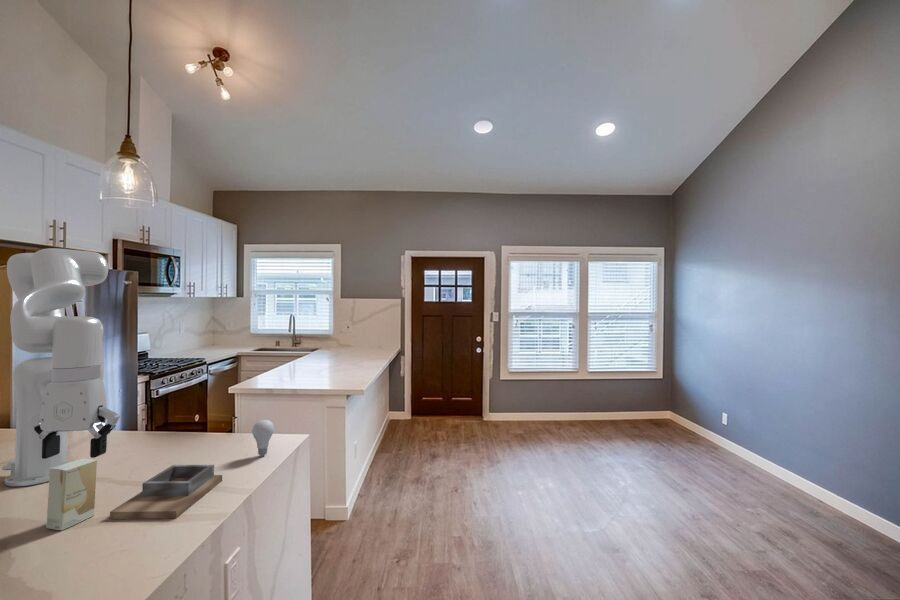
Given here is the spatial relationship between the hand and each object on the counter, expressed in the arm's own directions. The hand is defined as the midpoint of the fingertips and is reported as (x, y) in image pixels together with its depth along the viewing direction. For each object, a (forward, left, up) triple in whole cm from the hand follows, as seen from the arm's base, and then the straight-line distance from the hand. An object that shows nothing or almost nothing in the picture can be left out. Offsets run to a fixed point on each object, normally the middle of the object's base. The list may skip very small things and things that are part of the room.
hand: (74, 455), depth 81 cm
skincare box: (0, 0, -14) cm, 14 cm away
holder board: (+13, +10, -14) cm, 22 cm away
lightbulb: (+24, +36, -14) cm, 46 cm away
